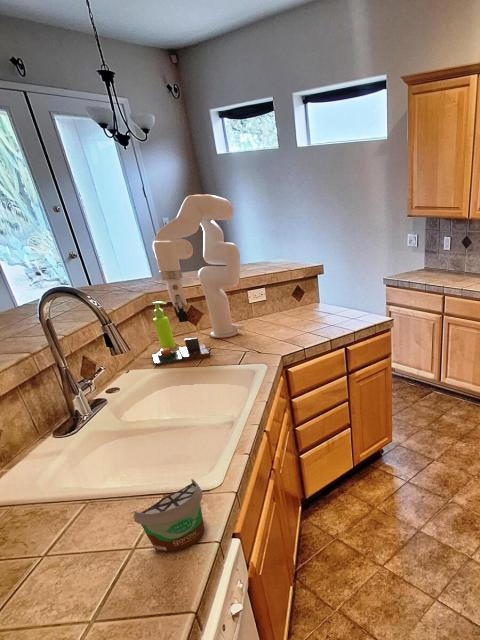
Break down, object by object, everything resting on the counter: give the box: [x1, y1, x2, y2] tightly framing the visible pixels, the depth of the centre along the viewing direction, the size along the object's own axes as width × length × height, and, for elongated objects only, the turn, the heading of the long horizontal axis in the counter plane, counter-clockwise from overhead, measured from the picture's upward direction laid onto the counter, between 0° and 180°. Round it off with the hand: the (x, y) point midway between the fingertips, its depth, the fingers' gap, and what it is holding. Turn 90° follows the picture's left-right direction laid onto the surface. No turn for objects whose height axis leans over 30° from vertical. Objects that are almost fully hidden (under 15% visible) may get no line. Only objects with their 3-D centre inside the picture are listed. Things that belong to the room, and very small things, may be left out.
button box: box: [152, 349, 184, 367], centre depth 176 cm, size 10×12×3 cm
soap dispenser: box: [151, 301, 177, 350], centre depth 187 cm, size 6×7×20 cm
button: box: [159, 348, 171, 354], centre depth 176 cm, size 4×4×2 cm
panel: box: [178, 344, 211, 362], centre depth 181 cm, size 10×14×2 cm
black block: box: [184, 336, 200, 352], centre depth 180 cm, size 5×2×5 cm, turn 121°
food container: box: [133, 478, 205, 554], centre depth 80 cm, size 12×6×10 cm, turn 148°
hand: (182, 319), depth 174 cm, fingers open, 9 cm apart
